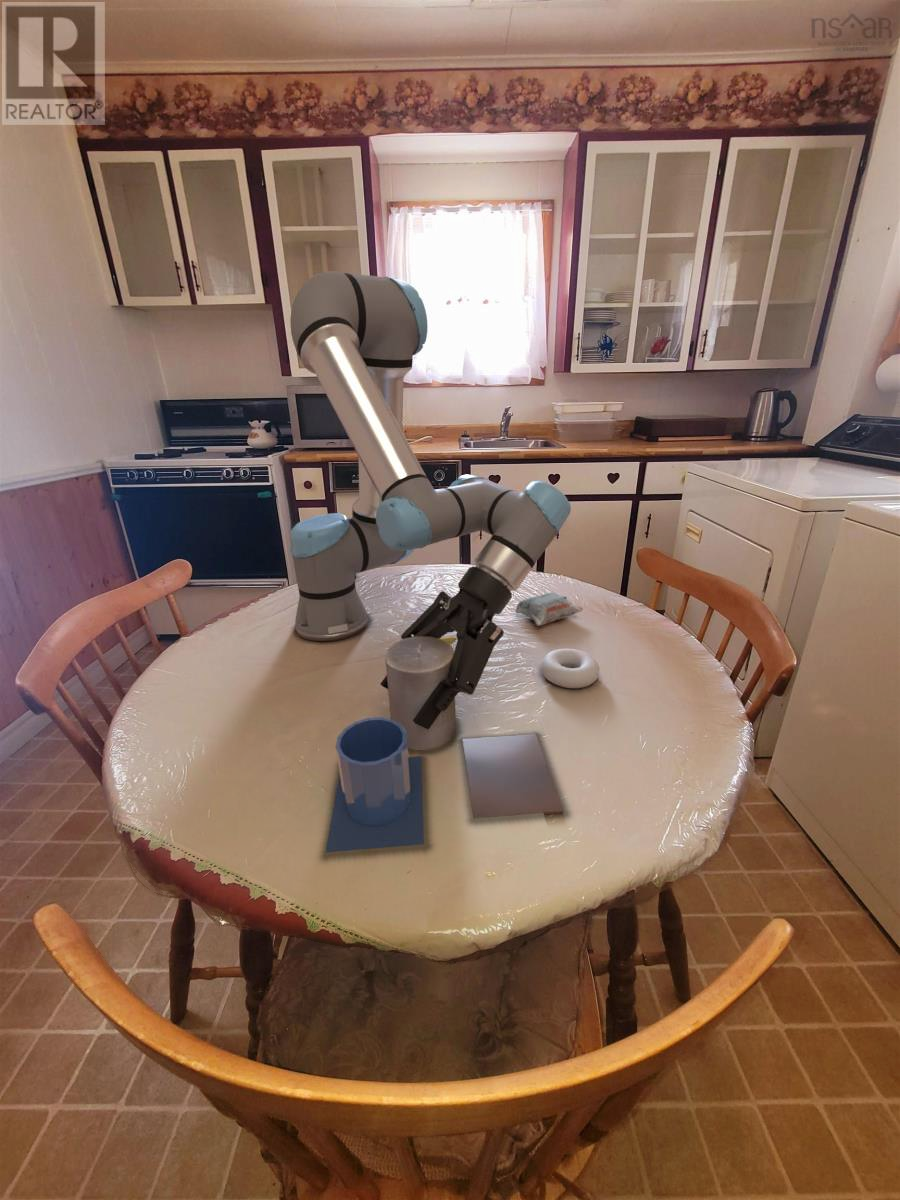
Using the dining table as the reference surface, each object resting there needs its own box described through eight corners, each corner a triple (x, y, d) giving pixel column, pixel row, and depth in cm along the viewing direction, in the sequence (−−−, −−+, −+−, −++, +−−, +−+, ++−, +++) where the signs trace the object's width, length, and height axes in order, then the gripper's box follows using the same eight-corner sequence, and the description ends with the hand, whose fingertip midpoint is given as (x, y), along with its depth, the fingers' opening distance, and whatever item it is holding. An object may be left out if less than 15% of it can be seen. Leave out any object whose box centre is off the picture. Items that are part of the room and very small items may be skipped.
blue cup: (349, 777, 64) (340, 719, 60) (411, 772, 65) (406, 715, 61) (341, 829, 57) (331, 767, 53) (411, 823, 57) (406, 761, 53)
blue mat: (342, 764, 67) (341, 762, 67) (421, 759, 68) (421, 756, 67) (326, 855, 54) (325, 852, 54) (424, 846, 55) (423, 843, 55)
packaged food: (581, 619, 105) (583, 599, 103) (537, 633, 100) (538, 611, 98) (555, 605, 112) (556, 585, 110) (513, 617, 107) (513, 597, 105)
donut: (539, 690, 82) (600, 694, 80) (540, 672, 81) (602, 677, 79) (541, 659, 91) (596, 662, 89) (542, 643, 89) (598, 646, 87)
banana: (414, 648, 95) (413, 630, 94) (415, 644, 97) (414, 626, 95) (456, 648, 95) (455, 630, 93) (456, 644, 97) (456, 626, 95)
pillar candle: (425, 702, 79) (420, 621, 73) (469, 729, 73) (468, 643, 67) (378, 731, 73) (368, 645, 67) (422, 763, 67) (416, 672, 61)
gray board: (462, 741, 71) (461, 738, 70) (536, 736, 71) (536, 733, 71) (473, 820, 58) (473, 817, 58) (563, 813, 59) (563, 810, 58)
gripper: (559, 619, 64) (461, 758, 63) (465, 569, 81) (387, 679, 80) (530, 591, 59) (424, 742, 58) (437, 545, 76) (354, 661, 75)
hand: (403, 705), depth 69 cm, fingers closed on pillar candle, 10 cm apart
